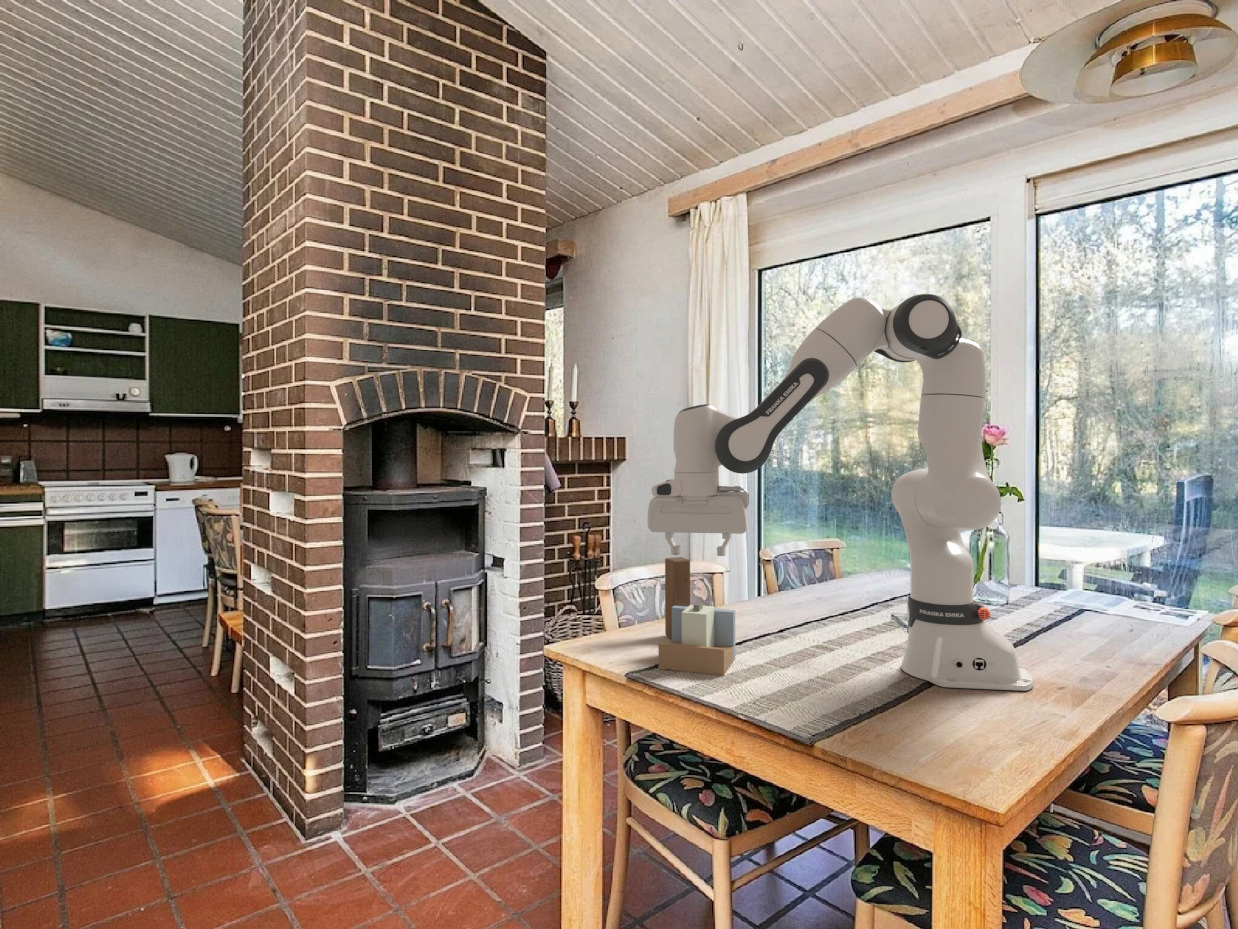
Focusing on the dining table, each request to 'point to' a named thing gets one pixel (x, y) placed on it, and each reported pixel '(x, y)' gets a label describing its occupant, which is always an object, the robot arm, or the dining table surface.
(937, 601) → the robot arm
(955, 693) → the dining table surface
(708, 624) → the cabinet block
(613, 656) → the dining table surface
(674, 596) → the wooden block
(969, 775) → the dining table surface
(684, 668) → the board
